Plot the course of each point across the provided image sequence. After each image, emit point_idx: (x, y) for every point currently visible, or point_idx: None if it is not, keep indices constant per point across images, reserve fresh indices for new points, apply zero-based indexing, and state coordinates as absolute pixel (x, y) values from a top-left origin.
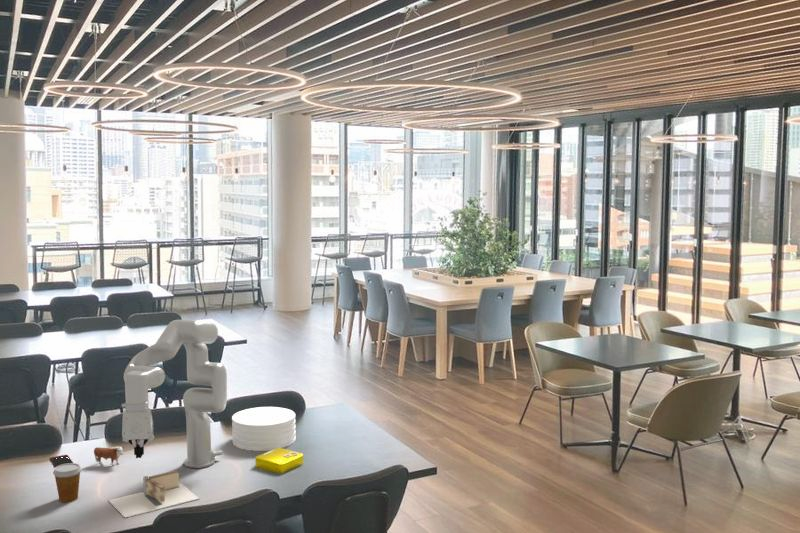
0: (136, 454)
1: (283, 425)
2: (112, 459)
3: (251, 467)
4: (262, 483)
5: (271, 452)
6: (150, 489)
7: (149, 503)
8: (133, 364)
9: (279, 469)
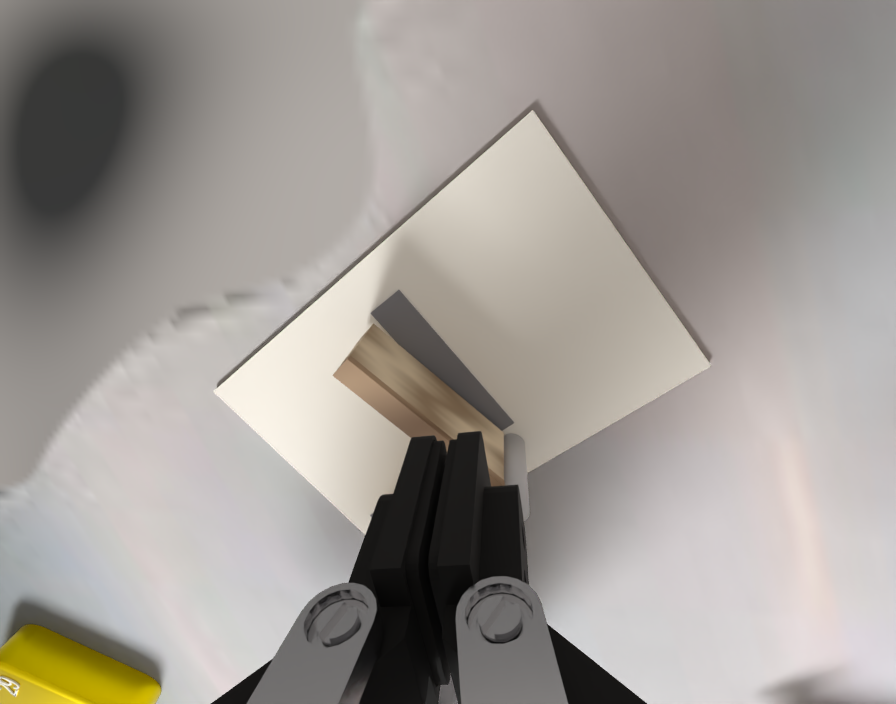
0: (466, 462)
1: None
2: None
3: (168, 676)
4: (37, 543)
5: None
6: (466, 424)
7: (448, 324)
8: None
9: (17, 639)
